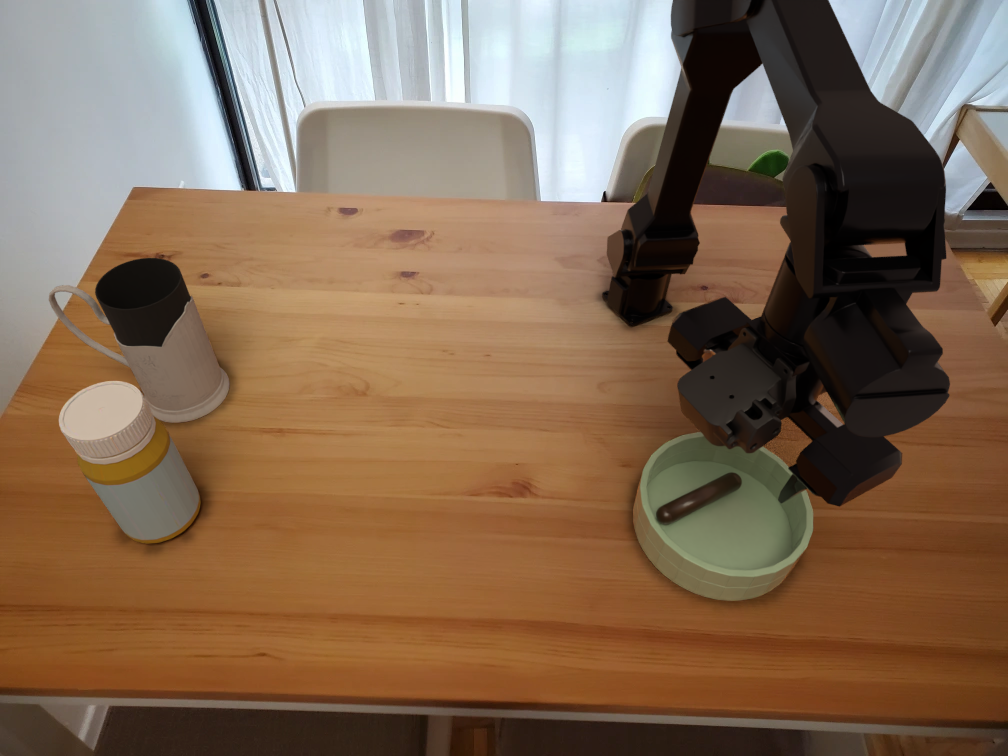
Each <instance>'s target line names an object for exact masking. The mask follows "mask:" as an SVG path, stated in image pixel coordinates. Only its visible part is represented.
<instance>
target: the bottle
mask: <svg viewBox="0 0 1008 756" xmlns="http://www.w3.org/2000/svg"><path fill="white" fill-rule="evenodd" d="M141 391H142V390H140V389H139V388H138V387H136V386H135V385H133V384H131V383H129V382H126V381H121V380H109V381H108V380H107V381H101V382H97V383H94V384H91V385H88V386H87V387H84V388H83V389H81V390H79V391H78V392H76V393H75V394H74V395H72V396H71V397H70V398H69V399H68V400H67V401H66V402H65V404H64V405H63V407H61V410H60V413H59V416H58V425H59V429H60V431H61V433H62V434H63V436H64V438H65V439H66V441H67V442H68V443H69V445H70V446H71V448H73V450H74V451H75V453H76V461H77V463H76V464H77V466H78V467H79V469H80V471H81V473H82V474H83V476H84V478H86V480H87V481H88V483H89V485H90V486H91V487H92V489H93V491H94V492H95V493H96V495H97V496H98V497H99V499H100V500H101V502H102V503H103V505H104V506H105V507H106V509H107V510H108V512H109V513H110V515H111V516H112V518H113V519H114V520H115V522H116V523H117V525H118V526H119V528H120V529H121V530H122V532H123V533H124V534H125V535H126V536H127V537H128V538H129V539H131V540H133V541H134V542H136V543H137V542H138V543H141V544H158V543H159V544H160V543H162V542H165V541H169V540H171V539H174V538H175V537H177V536H179V535H180V534H182V533H183V532H185V531H186V530H187V529H188V528H189V527H190V526H191V525H192V524H193V523H194V521H195V519H196V518H197V516H198V515H199V512H200V508H201V503H202V501H201V496H200V491H199V489H198V488H197V485H196V484H195V481H194V479H193V477H192V476H191V474H190V472H189V470H188V467H187V465H186V464H185V462H184V460H183V458H182V455H181V454H180V452H179V450H178V448H177V446H176V444H175V442H174V440H173V438H172V436H171V434H170V433H169V431H168V429H167V428H166V425H165V424H164V423H163V421H161V420H159V419H157V418H156V417H154V416H153V414H152V412H151V410H150V408H149V406H148V404H147V402H146V400H145V398H144V393H143V392H141Z"/></svg>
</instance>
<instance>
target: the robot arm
mask: <svg viewBox="0 0 1008 756" xmlns="http://www.w3.org/2000/svg"><path fill="white" fill-rule="evenodd" d="M670 27H671V28H670V29H671V32H670V39H671V42H672V44H673V48H674V51H675V53H676V56H677V59H678V62H679V64H680V72H679V76H678V80H677V83H676V87H675V90H674V94H673V97H672V102H671V105H670V109H669V113H668V116H667V119H666V124H665V128H664V130H663V131H664V132H663V135H662V139H661V142H660V146H659V149H658V154H657V157H656V161H655V163H654V164H655V165H654V168H653V171H652V174H651V175H652V176H651V178H650V182H649V186H648V189H647V193H646V194H645V195H643V196H642V197H641V198H640V199H639V200H637V202H635V203H634V204H632V205H631V206H630V207H629V208H628V209H627V211H626V213H625V216H624V219H623V222H622V225H621V228H620V229H618V230H616V231H615V232H613V233H612V234H610V235H609V236H607V239H606V256H607V260H608V262H609V265H610V269H611V271H612V274H613V275H612V276H611V278H610V282H609V283H610V284H609V289H608V290H605V291H603V292H602V293H601V298H602V299H603V300H604V301H605V302H606V303H607V305H609V307H610V308H611V309H612V310H613V311H614V312H615V313H616V314H617V315H618V316H619V317H620V318H621V319H622V320H623V321H624V322H625V323H626V324H627V326H629V327H635V326H639V325H641V324H644V323H646V322H648V321H651V320H653V319H656V318H659V317H662V316H665V315H667V314H669V313H672V312H673V309H674V306H673V305H672V304H671V303H670V302H669V301H668V300H667V299H666V298H667V294H668V290H669V287H670V283H671V279H672V275H686V273H687V272H688V270H689V268H690V266H691V265H694V259H695V258H696V255H697V254H698V251H699V246H700V244H701V241H700V240H699V233H698V232H699V231H698V229H697V227H696V223H695V221H694V217H693V216H692V209H693V207H694V204H695V201H696V198H697V195H698V192H699V190H700V187H701V184H702V181H703V178H704V175H705V172H706V170H707V166H708V164H709V161H710V159H711V158H710V157H711V155H712V152H713V149H714V146H715V143H716V141H717V138H718V135H719V132H720V129H721V126H722V123H723V120H724V117H725V114H726V112H727V109H728V105H729V103H730V100H731V97H732V94H733V92H734V90H735V89H736V88H737V87H738V86H739V85H740V84H741V83H743V82H744V81H745V80H746V79H747V78H749V77H750V76H751V75H752V74H753V73H754V72H756V70H758V69H759V68H760V67H761V66H762V67H763V69H764V71H765V74H766V76H767V79H768V82H769V85H770V87H771V90H772V93H773V96H774V98H775V100H776V101H775V102H776V103H777V106H778V109H779V111H780V114H781V117H782V119H783V122H784V124H785V127H786V129H787V132H788V135H789V138H790V139H789V140H790V144H791V147H792V152H791V155H790V157H789V159H788V163H787V165H786V167H785V170H784V173H783V175H782V184H783V189H784V193H785V210H786V214H783V215H782V216H781V217H780V220H779V224H780V226H781V228H782V229H783V231H784V233H785V234H786V236H787V237H788V239H789V241H790V242H789V244H788V246H787V247H786V248H787V249H786V251H785V253H784V256H783V259H782V261H781V264H780V265H779V269H778V271H777V274H776V276H775V279H774V282H773V284H772V287H771V290H770V291H769V295H768V297H767V299H766V303H765V305H764V307H763V310H762V313H761V315H760V316H758V317H755V318H752V319H751V318H750V317H749V316H748V315H747V314H746V313H745V312H744V311H742V309H740V308H739V307H738V306H737V305H736V304H735V303H734V302H732V301H731V300H730V299H729V298H728V297H727V296H723V297H718V298H716V299H713V300H711V301H708V302H704V303H703V304H700V305H697V306H694V307H692V308H690V309H687V310H684V311H681V312H679V313H678V314H677V315H676V316H675V317H674V318H673V320H672V321H671V324H670V329H669V332H668V337H667V341H666V342H667V343H668V344H669V345H670V346H671V347H672V348H673V349H674V350H675V354H676V356H677V358H678V359H679V360H680V361H681V362H682V363H683V364H684V365H686V367H687V368H688V369H689V370H690V371H688V372H686V373H685V374H683V375H682V376H681V377H680V378H679V379H678V380H677V384H676V385H677V387H676V388H677V393H678V399H679V405H680V406H679V407H680V411H681V413H682V415H684V417H686V418H687V419H688V420H689V421H690V422H691V423H692V424H693V425H694V426H695V428H696V429H698V431H699V432H701V433H702V434H703V435H704V437H705V438H706V439H707V440H708V441H709V442H710V443H711V444H713V445H715V446H726V447H727V448H728V449H732V448H734V447H741V448H742V449H743V450H744V451H745V452H746V453H753V452H755V451H756V450H758V449H759V448H761V447H765V445H767V444H768V443H769V442H771V441H773V440H774V439H776V438H777V437H778V436H779V435H780V433H781V432H782V425H783V424H782V423H783V422H782V421H783V420H784V419H789V420H790V422H792V423H793V424H794V425H795V426H796V427H797V428H798V429H799V430H800V431H801V432H803V433H804V435H805V436H806V437H808V438H809V439H810V440H811V442H810V443H808V444H807V445H806V446H805V447H804V448H803V449H801V451H800V452H799V454H798V456H797V457H796V460H795V463H794V464H792V465H791V466H789V467H788V469H789V470H790V471H791V472H792V475H791V477H790V478H789V480H788V481H787V483H786V484H785V486H784V487H783V489H782V490H781V492H780V495H779V497H778V501H779V502H780V503H781V504H782V503H784V502H786V501H788V500H789V499H791V498H793V497H795V496H796V495H798V494H800V493H801V492H803V491H805V490H806V491H807V490H808V491H809V492H810V493H811V494H812V495H814V496H815V497H818V498H821V499H823V501H824V502H825V503H826V504H828V505H832V506H836V507H842V506H844V505H845V504H847V503H849V502H851V501H853V500H854V499H857V498H858V497H860V496H862V495H864V494H865V493H867V492H869V491H870V490H872V489H875V488H876V487H878V486H880V485H882V484H883V483H885V482H887V481H889V480H891V479H893V478H894V476H895V474H896V473H897V471H898V470H899V469H900V468H901V466H902V465H903V452H902V451H901V450H899V448H897V446H895V445H894V444H893V443H892V442H891V441H890V440H889V439H887V436H893V435H896V434H899V433H901V432H902V433H903V432H905V431H907V430H909V429H911V428H914V427H916V426H918V425H920V424H921V423H923V422H925V421H926V420H928V419H929V418H931V417H932V416H933V415H934V414H936V413H937V412H938V411H939V410H940V409H941V408H943V406H944V405H945V404H946V402H947V401H948V399H949V398H950V393H949V391H950V386H951V381H950V377H949V375H948V374H947V373H946V371H945V370H944V369H943V367H942V365H941V364H940V363H939V360H940V359H941V358H942V356H943V354H944V349H943V346H942V345H941V344H940V343H939V341H938V340H937V339H936V338H935V336H934V335H933V334H932V333H931V332H930V331H929V330H928V329H926V328H925V327H924V326H923V324H922V323H921V322H920V321H919V319H918V318H917V317H916V316H915V314H914V312H913V311H912V310H911V308H910V307H909V306H908V304H907V303H908V302H909V300H910V298H911V297H912V295H913V294H918V293H919V294H920V293H935V292H938V291H939V290H940V288H941V280H942V279H941V278H942V265H943V263H942V261H943V260H946V259H947V247H946V246H947V243H946V231H945V221H946V218H945V216H946V215H945V214H946V201H947V200H946V199H947V180H946V172H945V168H944V165H943V161H942V159H941V157H940V156H939V154H938V153H937V151H936V149H935V148H934V147H933V145H932V144H931V143H930V142H929V140H928V139H927V138H926V136H925V135H924V134H923V133H922V131H921V130H920V129H919V128H918V126H917V125H916V124H915V122H914V121H913V120H912V119H910V118H908V117H906V116H905V115H903V114H901V113H899V112H898V111H896V110H894V109H893V108H891V107H890V106H887V105H885V104H884V103H882V102H880V100H878V98H877V97H876V96H875V94H874V93H873V92H872V90H871V88H870V86H869V83H868V82H867V79H866V77H865V75H864V73H863V71H862V69H861V66H860V64H859V62H858V60H857V59H856V56H855V53H854V52H853V49H852V47H851V45H850V43H849V41H848V39H847V36H846V34H845V32H844V30H843V28H842V26H841V24H840V22H839V19H838V16H837V15H836V13H835V11H834V9H833V7H832V5H831V2H830V0H672V2H671V9H670ZM895 244H896V245H897V244H904V248H905V249H904V250H905V254H906V255H893V256H892V255H889V256H888V255H887V256H872V255H871V253H870V252H869V250H868V249H867V247H865V246H872V245H875V246H876V245H895ZM825 393H827V395H828V397H829V398H830V400H831V402H832V404H833V405H834V407H835V409H836V411H837V413H838V414H839V417H840V419H841V420H842V421H840V420H839V419H838V418H837V417H836V416H835V415H833V413H831V412H830V410H828V409H827V408H826V407H825V406H824V405H823V404H821V402H820V401H818V398H819V397H820V396H821V395H824V394H825ZM842 422H843V423H842Z"/></svg>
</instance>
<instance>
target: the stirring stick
mask: <svg viewBox="0 0 1008 756" xmlns="http://www.w3.org/2000/svg"><path fill="white" fill-rule="evenodd" d="M741 485H742V480H741V477H740V476H739V475H738V474H737V473H734V472H730V473H727V474H725V475H723V476H721V477H719V478H717V479H715V480H713V481H711V482H709V483H707V484H705V485H703V486H701V487H699V488H697V489H695V490H693V491H691V492H689V493H687V494H685V495H683V496H681V497H679V498H677V499H675V500H673V501H671V502H669V503H667V504H665V505H663V506H661V507H659V508H658V510H657V512H656V518H657V520H658V521H659V522H660V523H661V524H663V525H669V524H672V523H674V522H676V521H677V520H679V519H681V518H683V517H685V516H687V515H689V514H691V513H693V512H695V511H697V510H699V509H701V508H703V507H705V506H707V505H709V504H711V503H713V502H715V501H717V500H719V499H720V498H722V497H724V496H726V495H728V494H730V493H732V492H734V491H736V490H738V489H739V488H740V487H741Z"/></svg>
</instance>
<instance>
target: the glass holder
mask: <svg viewBox="0 0 1008 756" xmlns="http://www.w3.org/2000/svg"><path fill="white" fill-rule="evenodd" d="M186 284H187V283H186V281H185V279H184V276H183V273H182V271H181V269H180V268H179V266H178V265H177V264H175V263H174V262H173V261H170V260H168V259H165V258H159V257H142V258H141V257H140V258H137V259H131V260H129V261H125V262H123V263H120V264H118V265H116V266H114V267H113V268H111V269H109V270H108V271H107V272H105V273H104V274H103V275H102V276H101V277H100V279H98V282H97V283H96V286H95V289H94V295H95V297H96V300H97V301H96V300H95V298H94V297H92V296H91V295H90V294H89V293H87V292H86V291H85V290H82V289H81V288H79V287H77V286H73V285H69V284H61V285H57V286H55V287H54V288H53V289H51V291H50V292H49V294H48V302H49V304H50V307H51V310H53V312H54V314H55V316H56V317H57V318H58V319H59V320H60V322H61V323H62V324H63V325H64V326H65V327H66V328H67V330H69V331H70V332H71V333H72V334H73V335H74V336H75V337H76V338H77V339H79V340H80V341H81V342H83V344H85V345H86V346H89V347H90V348H92V349H94V350H96V351H97V352H99V353H101V354H102V355H104V356H106V357H108V358H110V359H112V360H114V361H116V362H118V363H120V364H122V365H124V366H125V367H128V368H130V370H131V372H132V374H133V376H134V378H135V380H136V382H137V384H138V386H139V388H140V389H141V390H140V391H142V392H141V393H142V394H143V396H144V398H145V400H146V402H147V404H148V406H149V408H150V410H151V412H152V414H153V416H154V417H156V418H157V419H159V420H160V421H161V422H165V423H173V424H174V423H177V424H178V423H186V422H191V421H195V420H197V419H200V418H203V417H204V416H207V415H209V414H210V413H212V412H213V411H215V410H216V409H217V408H218V407H219V406H220V405H221V404H222V403H223V402H224V401H225V400H226V397H227V396H228V393H229V391H230V386H231V385H230V378H229V376H228V374H227V372H226V371H225V370H224V369H223V368H222V367H221V366H220V365H219V362H218V359H217V356H216V354H215V351H214V349H213V346H212V343H211V340H210V339H209V336H208V334H207V331H206V328H205V325H204V322H203V320H202V319H201V315H200V313H199V310H198V308H197V307H198V306H197V305H196V302H195V299H194V297H193V295H190V293H189V290H188V286H187V285H186ZM61 292H66V293H70V294H73V295H75V296H76V297H79V298H80V299H82V300H83V301H84V302H85V303H86V304H87V305H88V306H89V307H90V309H91V310H92V311H93V313H94V315H95V316H96V318H97V320H99V321H100V322H101V323H102V324H105V325H107V326H110V327H111V330H112V331H113V336H114V339H115V341H116V343H117V345H118V347H119V349H120V351H121V353H122V355H121V354H119V353H117V352H115V351H113V350H112V349H110V348H107V347H106V346H104V345H102V344H101V343H99V342H98V341H96V340H94V339H92V338H91V337H90V336H88V335H87V334H86V333H84V331H82V330H81V329H80V328H79V327H77V325H76V324H75V323H73V322H72V320H71V319H70V318H69V317H68V316H67V315H66V314H65V312H64V311H63V309H62V307H61V306H60V305H59V303H58V301H57V298H56V293H61ZM97 302H98V303H97ZM99 305H100V306H99Z"/></svg>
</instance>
